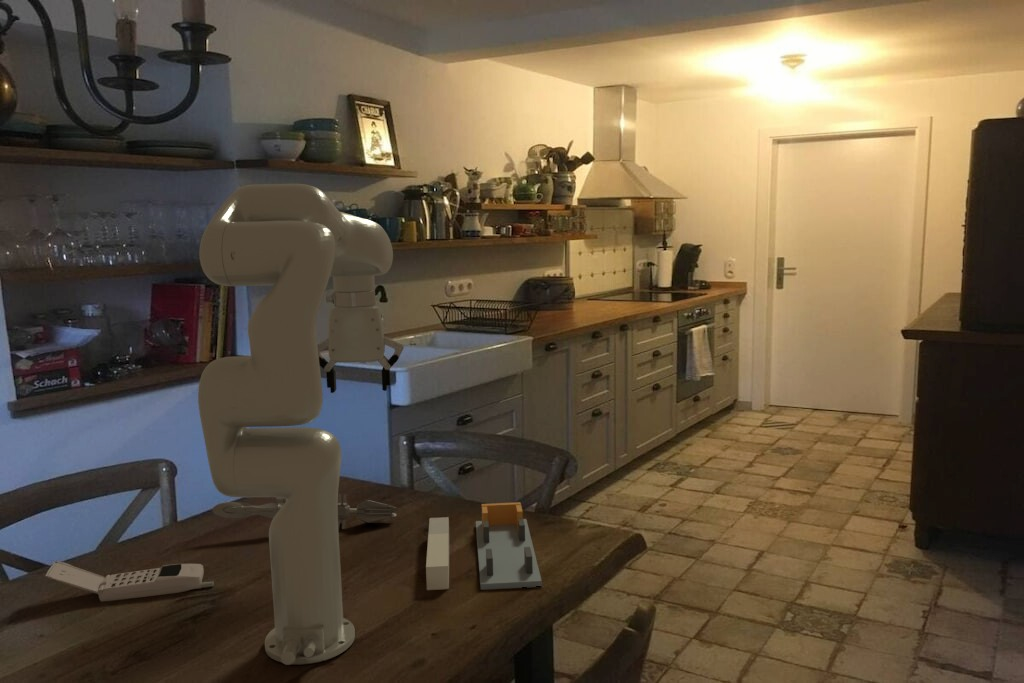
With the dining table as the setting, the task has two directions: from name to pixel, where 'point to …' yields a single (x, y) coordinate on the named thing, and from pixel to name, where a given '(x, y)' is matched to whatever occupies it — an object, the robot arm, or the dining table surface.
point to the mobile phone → (132, 580)
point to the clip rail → (505, 548)
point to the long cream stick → (438, 554)
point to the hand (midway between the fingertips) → (359, 390)
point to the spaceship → (364, 510)
